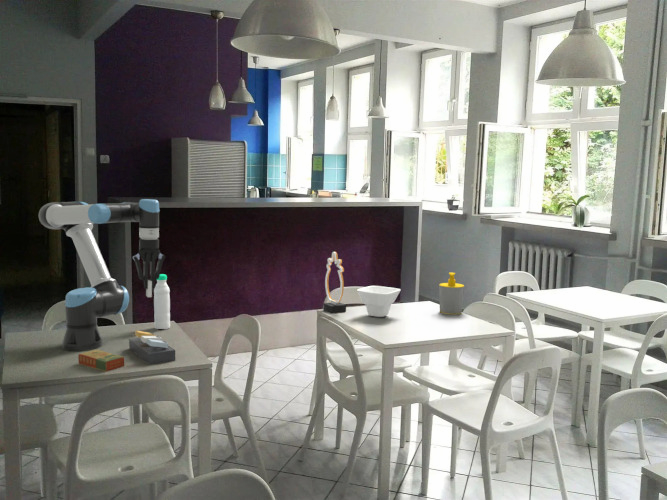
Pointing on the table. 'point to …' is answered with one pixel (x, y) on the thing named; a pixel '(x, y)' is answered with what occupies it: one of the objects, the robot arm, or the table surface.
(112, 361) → the carton
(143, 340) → the rocker white
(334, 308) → the lamp
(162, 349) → the power strip
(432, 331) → the table surface
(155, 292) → the water bottle
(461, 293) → the soap bottle
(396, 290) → the bowl
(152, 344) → the rocker blue
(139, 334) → the rocker amber
